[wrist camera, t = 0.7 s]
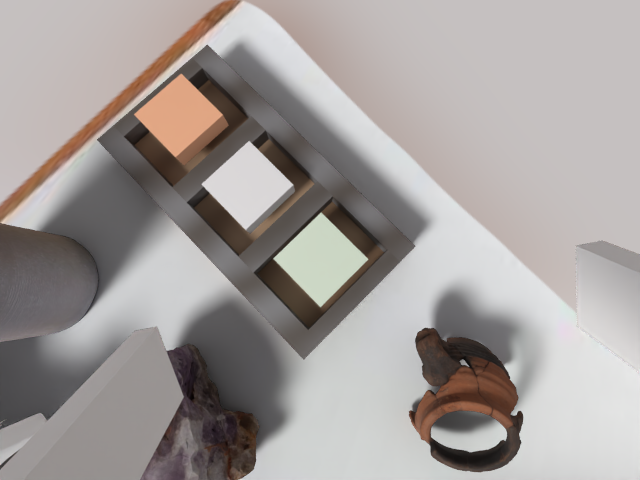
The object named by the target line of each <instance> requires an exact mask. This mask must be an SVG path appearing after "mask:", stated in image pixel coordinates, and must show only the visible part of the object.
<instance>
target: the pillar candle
mask: <svg viewBox="0 0 640 480" xmlns="http://www.w3.org/2000/svg"><path fill="white" fill-rule="evenodd" d="M97 288H98V271H97V268H96V264H95V261H94V259H93V258H92V256H91V255H90V253H89V252H88V251H87V250H86V249H85V248H84V247H83V246H82V245H80V244H79V243H77V242H76V241H75V240H73V239H70V238H68V237H65V236H61V235H55V234H50V233H46V232H41V231H35V230H31V229H25V228H21V227H15V226H11V225H6V224H2V223H0V342H3V341H10V340H17V339H23V338H29V337H35V336H42V335H49V334H53V333H57V332H60V331H63V330H65V329H67V328H69V327H71V326H73V325H74V324H76V323H77V322H78V321H80V320H81V319H82V317H83V316H84V315H85V313H86V312H87V310H88V308H89V307H90V305H91V303H92V301H93V299H94V296H95V294H96V291H97Z"/></svg>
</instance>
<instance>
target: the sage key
mask: <svg viewBox="0 0 640 480" xmlns="http://www.w3.org/2000/svg"><path fill="white" fill-rule="evenodd" d="M273 259H274V260H275V261H276V262H277V263H278V264H279V265H280V266H281V267H282V268H283V269H284V270H285V271H286V272H287V273H288V274H289V275H290V276H291V277H292V278H293V280H294V281H295V282H296V283H297V284H298V285H299V286H300V287H301V288H302V289H303V290H304V291H305V292H306V293H307V294H308V295H309V296H310V297H311V298H312V299H313V300H314V301H315V302H316V303H317V304H318V305H319V306H320V307H321V306H322V305H323V304H324V303H325V302H326V301H327V300H328V299H329V298H330V297H331V296H332V295H333V294H334V293H335V292H336V291H337V290H338V289H339V288H340V287H341V286H342V285H343V284H344V283H345V282H346V281H347V280H348V279H349V278H350V277H351V276H352V275H353V274H354V273H355V272H356V271H357V270H358V269H359V268H360V267H361V266H362V265H363V264H364V263H365V262H366V261H367V260H368V258H367V257H366V256H365V255H364V254H363V253H362V252H361V251H360V250H359V249H357V248H356V247H355V246H354V245H353V244H352V243H351V242H350V241H349V240H348V239H347V238H346V237H345V236H344V235H343V234H342V233H341V232H340V231H339V230H338V229H337V228H336V227H335V226H334V225H333V224H332V223H331V222H330V221H329V220H328V219H327V218H326V217H325V216H324V215H323V214H322V213H320V214H319V215H318V216H317V217H316V218H315V219H314V220H313V221H312V222H311V223H310V224H309V225H308V226H307V227H306V228H305V229H303V230H302V231H301V232H300V233H299V234H298V235H297V236H296V237H295V238H294V239H293V240H292V241H291V242H290V243H289V244H288V245H287V246H286V247H285V248H284V249H283V250H282V251H281V252H280V253H279V254H278V255H277V256H275V257H274V258H273Z"/></svg>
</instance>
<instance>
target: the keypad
mask: <svg viewBox="0 0 640 480" xmlns="http://www.w3.org/2000/svg"><path fill="white" fill-rule="evenodd" d="M180 74H182V75H183V76H184V77H185V78H186V79H187V80H188V81H189V82H190V83H191V84H192V85H193V86H194V87H195V88H196V89H197V90H198V91H199V92H200V93H201V94H202V95H203V96H204V97H205V98H206V99H207V100H208V101H209V102H210V103H211V104H212V105H214V106H215V107H216V108H217V109H218V110H219V111H220V112H221V113H222V114H223V116H224V118H225V119H226V121H227V123H228V125H229V126H228V127H226V128H225V129H224V130H223V131H222V132H221V133H220V134H219V135H218V136H216V137H215V138H214V139H213V140H212V141H211V142H210V143H209V144H208V145H206V146H205V147H204V148H203V149H202V150H201V151H200V152H199V153H198V154H196V155H195V156H194V157H193V158H192V159H191V160H190V161H189V162H188V163H186V164H185V165H183V164H182V163H181V162H180V161H179V160H178V159H177V158H176V157H175V156H174V155H173V154H172V153H171V152H170V151H169V150H168V149H167V148H166V147H165V146H164V145H163V144H162V143H161V142H160V141H159V140H158V139H157V138H156V137H155V136H154V135H153V134H152V133H151V132H150V131H149V130H148V129H147V128H146V126H145V125H144V124H143V123H142V122H141V121H140V120H139V119H138V118H137V117H136V116H135V115H134V114H135V113H136V112H137V111H138V110H140V109H141V108H142V107H143V106H144V105H145V104H147V103H148V102H149V101H150V100H151V99H152V98H153V97H155V96H156V95H157V94H158V93H159V92H160V91H162V90H163V89H164V88H165V87H166V86H167V85H168V84H170V83H171V82H172V81H173V80H174V79H175V78H177V77H178V76H179V75H180ZM97 140H98V141H99V142H100V143H101V145H102V146H103V147H104V148H105V149H106V150H107V151H108V152H109V153H110V154H111V155H112V156H113V157H114V158H115V159H116V160H117V162H118V163H119V164H120V165H121V166H122V167H123V168H124V169H125V170H126V171H127V172H128V173H129V174H130V175H131V176H132V177H133V179H134V180H135V181H136V182H137V183H138V184H139V185H140V186H141V187H142V188H143V189H144V190H145V191H146V192H147V193H148V195H149V196H150V197H151V198H152V199H153V200H154V201H155V202H156V203H157V204H158V205H159V206H160V207H161V208H162V209H163V210H164V212H165V213H166V214H167V215H168V216H169V217H170V218H171V219H172V220H173V221H174V222H175V223H176V224H177V225H178V226H179V227H180V229H181V230H182V231H183V232H184V233H185V234H186V235H187V236H188V237H189V238H190V239H191V240H192V241H193V242H194V243H195V245H196V246H197V247H198V248H199V249H200V250H201V251H202V252H203V253H204V254H205V255H206V256H207V257H208V258H209V259H210V260H211V262H212V263H213V264H214V265H215V266H216V267H217V268H218V269H219V270H220V271H221V272H222V273H223V274H224V275H225V276H226V277H227V279H228V280H229V281H230V282H231V283H232V284H233V285H234V286H235V287H236V288H237V289H238V290H239V291H240V292H241V293H242V295H243V296H244V297H245V298H246V299H247V300H248V301H249V302H250V303H251V304H252V305H253V306H254V307H255V308H256V309H257V310H258V312H259V313H260V314H261V315H262V316H263V317H264V318H265V319H266V320H267V321H268V322H269V323H270V324H271V325H272V326H273V327H274V329H275V330H276V331H277V332H278V333H279V334H280V335H281V336H282V337H283V338H284V339H285V340H286V341H287V342H288V343H289V344H290V346H291V347H292V348H293V349H294V350H295V351H296V352H297V353H298V354H299V355H300V356H301V357H302V358H303V359H305V358H306V357H307V356H308V355H309V354H310V353H311V352H312V351H313V350H314V349H315V348H316V347H317V346H318V345H319V344H320V343H321V342H322V340H323V339H324V338H325V337H326V336H327V335H328V334H329V333H330V332H331V331H332V330H333V329H334V328H335V327H336V326H337V325H338V324H339V323H340V322H341V321H342V320H343V319H344V318H345V317H346V316H347V315H348V314H349V313H350V312H351V311H352V310H353V309H354V308H355V307H356V306H357V305H358V304H359V303H360V302H361V301H362V300H363V299H364V298H365V297H366V296H367V295H368V294H369V293H370V292H371V291H372V290H373V289H374V288H375V287H376V286H377V285H378V284H379V283H380V282H381V281H382V280H383V279H384V278H385V277H386V276H387V275H388V274H389V273H390V272H391V271H392V270H393V269H394V268H395V266H396V265H397V264H398V263H399V262H400V261H401V260H402V259H403V258H404V257H405V256H406V255H407V254H408V253H409V252H410V251H411V250H412V249H413V248H414V247H415V245H414V244H413V243H412V242H411V241H410V240H409V239H408V238H406V237H405V236H404V235H403V234H402V233H401V232H400V231H399V230H398V229H397V228H396V227H395V226H394V225H393V224H392V223H391V222H390V221H389V220H388V219H387V218H386V217H385V216H384V215H383V214H382V213H381V212H380V211H379V210H378V209H377V208H376V207H374V206H373V205H372V204H371V203H370V202H369V201H368V200H367V199H366V198H365V197H364V196H363V195H362V194H361V193H360V192H359V191H358V190H357V189H356V188H355V187H354V186H353V185H352V184H351V183H350V182H349V181H348V180H347V179H346V178H345V177H344V176H342V175H341V174H340V173H339V172H338V171H337V170H336V169H335V168H334V167H333V166H332V165H331V164H330V163H329V162H328V161H327V160H326V159H325V158H324V157H323V156H322V155H321V154H320V153H319V152H318V151H317V150H316V149H315V148H314V147H313V146H312V145H310V144H309V143H308V142H307V141H306V140H305V139H304V138H303V137H302V136H301V135H300V134H299V133H298V132H297V131H296V130H295V129H294V128H293V127H292V126H291V125H290V124H289V123H288V122H287V121H286V120H285V119H284V118H283V117H282V116H281V115H280V114H278V113H277V112H276V111H275V110H274V109H273V108H272V107H271V106H270V105H269V104H268V103H267V102H266V101H265V100H264V99H263V98H262V97H261V96H260V95H259V94H258V93H257V92H256V91H255V90H254V89H253V88H252V87H251V86H250V85H249V84H248V83H246V82H245V81H244V80H243V79H242V78H241V77H240V76H239V75H238V74H237V73H236V72H235V71H234V70H233V69H232V68H231V67H230V66H229V65H228V64H227V63H226V62H225V61H224V60H223V59H222V58H221V57H220V56H219V55H218V54H217V53H215V52H214V51H213V50H212V49H211V48H210V47H209V46H208V45H206V46H205V47H204V48H203V49H202V50H201V51H199V52H198V53H197V54H196V55H195V56H194V57H192V58H191V59H190V60H189V61H188V62H187V63H186V64H184V65H183V66H182V67H181V68H180V69H179V70H177V71H176V72H175V73H174V74H173V75H172V76H170V77H169V78H168V79H167V80H166V81H165V82H163V83H162V84H161V85H160V86H159V87H158V88H157V89H155V90H154V91H153V92H152V93H151V94H150V95H148V96H147V97H146V98H145V99H144V100H143V101H141V102H140V103H139V104H138V105H137V106H136V107H134V108H133V109H132V110H131V111H130V112H129V113H128V114H126V115H125V116H124V117H123V118H122V119H121V120H119V121H118V122H117V123H116V124H115V125H114V126H112V127H111V128H110V129H109V130H108V131H107V132H105V133H104V134H103V135H102V136H101V137H100V138H99V139H97ZM248 141H250V142H251V143H252V144H253V145H254V146H255V147H256V148H257V149H258V150H259V151H260V152H261V153H262V154H263V155H264V156H265V157H266V158H267V159H268V160H269V161H270V162H271V163H272V164H273V165H274V166H275V167H276V168H277V169H278V170H279V171H280V172H281V173H282V174H283V175H284V176H285V177H286V178H287V179H288V180H289V181H290V182H291V183H292V184H293V185H294V189H295V192H294V193H293V194H292V195H291V196H290V197H289V198H288V199H287V200H285V201H284V202H283V203H282V204H281V205H280V206H279V207H278V208H277V209H276V210H275V211H274V212H273V213H272V214H271V215H270V216H269V217H268V218H266V219H265V220H264V221H263V222H262V223H261V224H260V225H259V226H258V227H257V228H256V229H255V230H254V231H253V232H252V233H251V234H250V233H249V232H247V231H246V230H245V229H244V228H243V227H242V226H241V225H240V224H239V223H238V222H237V221H236V220H235V218H234V217H233V216H232V215H231V214H230V213H229V212H228V211H227V210H226V209H225V208H224V207H223V206H222V205H221V204H220V203H219V202H218V201H217V200H216V199H215V198H214V197H213V196H212V195H211V194H210V193H209V192H208V191H207V190H206V189H205V187H204V186H203V185H202V183H203V182H204V181H206V180H207V179H208V178H209V177H210V176H211V175H212V174H213V173H214V172H215V171H216V170H218V169H219V168H220V167H221V166H222V165H223V164H224V163H225V162H226V161H227V160H229V159H230V158H231V157H232V156H233V155H234V154H235V153H236V152H237V151H238V150H240V149H241V148H242V147H243V146H244V145H245V144H246V143H247V142H248ZM320 213H322V214H323V215H324V216H325V217H326V218H327V219H328V220H329V221H330V222H331V223H332V224H333V225H334V226H335V227H336V228H337V229H338V230H339V231H340V232H341V233H342V234H343V235H344V236H345V237H346V238H347V239H348V240H349V241H350V242H351V243H352V244H353V245H354V246H355V247H356V248H357V249H359V250H360V251H361V252H362V253H363V254H364V255H365V256H366V257H367V258H368V260H367V261H366V262H365V263H364V264H363V265H362V266H361V267H360V268H359V269H358V270H357V271H356V272H355V273H354V274H353V275H352V276H351V277H350V278H349V279H348V280H347V281H346V282H345V283H344V284H343V285H342V286H341V287H340V288H339V289H338V290H337V291H336V292H335V293H334V294H333V295H332V296H331V297H330V298H329V299H328V300H327V301H326V302H325V303H324V304H323V305H322V306H321V307H320V306H319V305H318V304H317V303H316V302H315V301H314V300H313V299H312V298H311V297H310V296H309V295H308V294H307V293H306V292H305V291H304V290H303V289H302V288H301V287H300V286H299V285H298V284H297V283H296V282H295V281H294V280H293V278H292V277H291V276H290V275H289V274H288V273H287V272H286V271H285V270H284V269H283V268H282V267H281V266H280V265H279V264H278V263H277V262H276V261H275V260H274V259H273V258H274V257H275V256H277V255H278V254H279V253H280V252H281V251H282V250H283V249H284V248H285V247H286V246H287V245H288V244H289V243H290V242H291V241H292V240H293V239H294V238H295V237H296V236H297V235H298V234H299V233H300V232H301V231H302V230H303V229H305V228H306V227H307V226H308V225H309V224H310V223H311V222H312V221H313V220H314V219H315V218H316V217H317V216H318V215H319V214H320Z"/></svg>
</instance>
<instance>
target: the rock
mask: <svg viewBox="0 0 640 480" xmlns="http://www.w3.org/2000/svg"><path fill="white" fill-rule="evenodd" d="M167 354H168V357H169V359H170V362H171V365H172V367H173V370H174V372H175V375H176V378H177V380H178V383H179V385H180V388H181V391H182V393H183V396H184V398H183V399H182V401H181V403H180V405H179V407H178V409H177V411H176V413H175V415H174V416H173V418H172V420H171V422H170V424H169V426H168V428H167V430H166V431H165V433H164V435H163V437H162V439H161V441H160V443H159V445H158V447H157V448H156V450H155V452H154V454H153V456H152V458H151V460H150V462H149V463H148V465H147V467H146V469H145V471H144V473H143V475H142V477H141V479H140V480H238V479H241V478H243V477H244V476H246V475H247V474H249V473H250V472H251V471H253V469H254V466H255V462H256V435H257V432H258V430H259V427H260V426H259V425H258V420H257V419H256V418H255V417H254V416H253V414H247V413H243V412H240V411H235V412H232V411H229V410H223V409H222V407H221V406H220V401H219V395H218V392H217V387H216V386H215V384H214V383H212V382H211V380H210V379H209V378H208V374H207V371H206V368H207V365H206V363H205V361H204V359H203V358H202V357H201V356H200V353H199V351H198V349H197V348H196V347H195V346H194V345H191V344H187V345H185V346H183V347H180V348H175V349H174V350H170V351H167Z"/></svg>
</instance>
